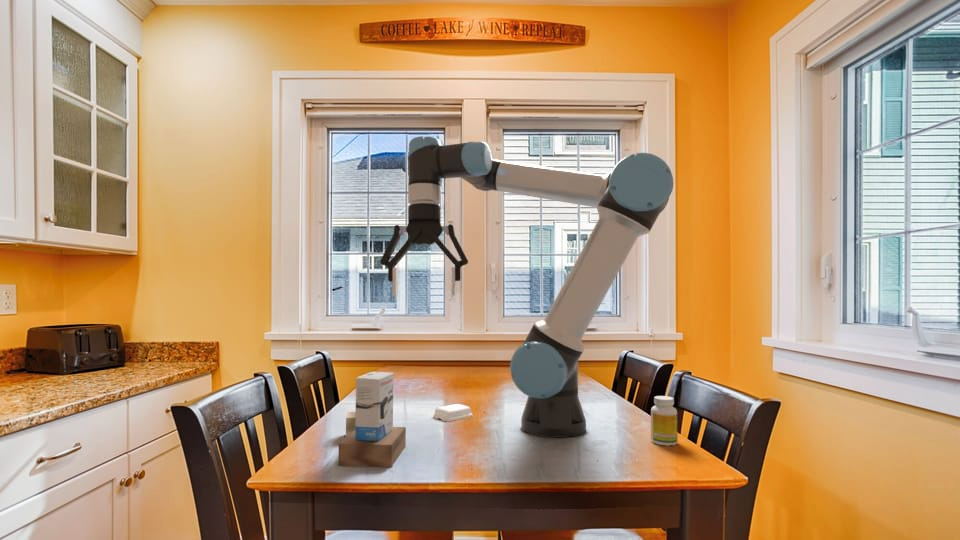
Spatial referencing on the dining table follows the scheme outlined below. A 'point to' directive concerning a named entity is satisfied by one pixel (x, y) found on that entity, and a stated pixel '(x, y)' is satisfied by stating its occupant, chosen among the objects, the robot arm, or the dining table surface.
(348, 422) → the maple cube
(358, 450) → the walnut block
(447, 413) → the soap
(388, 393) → the ink box
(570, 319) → the robot arm
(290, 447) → the dining table surface
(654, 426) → the supplement bottle
